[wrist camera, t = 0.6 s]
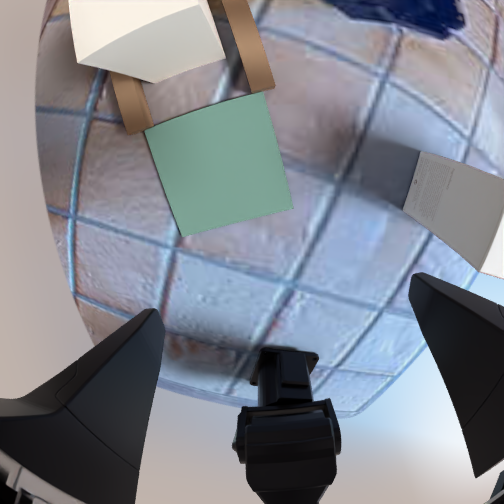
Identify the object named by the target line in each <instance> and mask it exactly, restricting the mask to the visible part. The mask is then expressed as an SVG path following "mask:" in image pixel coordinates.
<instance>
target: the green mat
mask: <svg viewBox="0 0 504 504" xmlns="http://www.w3.org/2000/svg"><path fill="white" fill-rule="evenodd" d="M145 134H146V137H147V140H148V143H149V147H150V150H151V153H152V156H153V158H154V161H155V164H156V167H157V170H158V173H159V176H160V179H161V182H162V184H163V187H164V190H165V193H166V195H167V198H168V201H169V204H170V206H171V209H172V212H173V214H174V217H175V219H176V222H177V225H178V227H179V230H180V232H181V235H182V237H185V236H188V235H192V234H195V233H199V232H203V231H207V230H210V229H214V228H218V227H222V226H225V225H229V224H233V223H237V222H241V221H245V220H249V219H253V218H257V217H261V216H265V215H269V214H273V213H277V212H281V211H285V210H289V209H294V208H293V204H292V200H291V196H290V191H289V187H288V183H287V179H286V175H285V171H284V167H283V163H282V159H281V155H280V151H279V147H278V144H277V140H276V136H275V133H274V129H273V125H272V122H271V118H270V114H269V111H268V107H267V104H266V101H265V97H264V94H263V92H259V93H255V94H251V95H247V96H243V97H239V98H235V99H232V100H228V101H225V102H222V103H218V104H215V105H212V106H209V107H206V108H203V109H200V110H197V111H194V112H191V113H188V114H185V115H182V116H180V117H177V118H174V119H172V120H169V121H167V122H164V123H161V124H159V125H157V126H154V127H152V128H149V129H147V130H145Z"/></svg>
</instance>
